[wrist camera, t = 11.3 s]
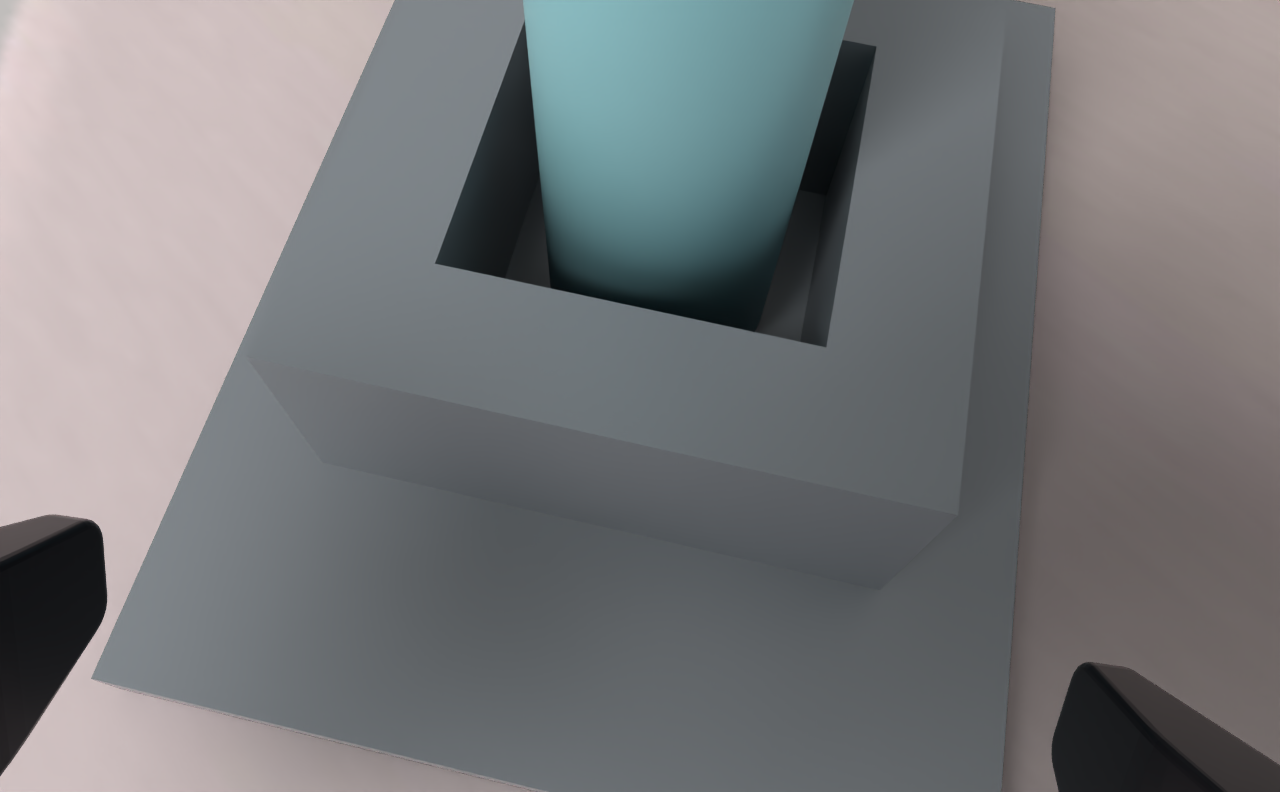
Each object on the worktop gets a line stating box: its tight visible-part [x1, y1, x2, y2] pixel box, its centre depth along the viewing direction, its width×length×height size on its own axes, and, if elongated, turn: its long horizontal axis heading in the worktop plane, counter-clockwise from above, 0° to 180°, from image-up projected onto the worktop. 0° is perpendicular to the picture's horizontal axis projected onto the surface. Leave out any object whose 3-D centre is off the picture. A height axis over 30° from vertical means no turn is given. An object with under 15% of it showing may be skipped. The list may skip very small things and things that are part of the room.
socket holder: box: [91, 0, 1055, 792], centre depth 17 cm, size 18×14×5 cm
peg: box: [523, 0, 854, 332], centre depth 13 cm, size 4×4×13 cm
